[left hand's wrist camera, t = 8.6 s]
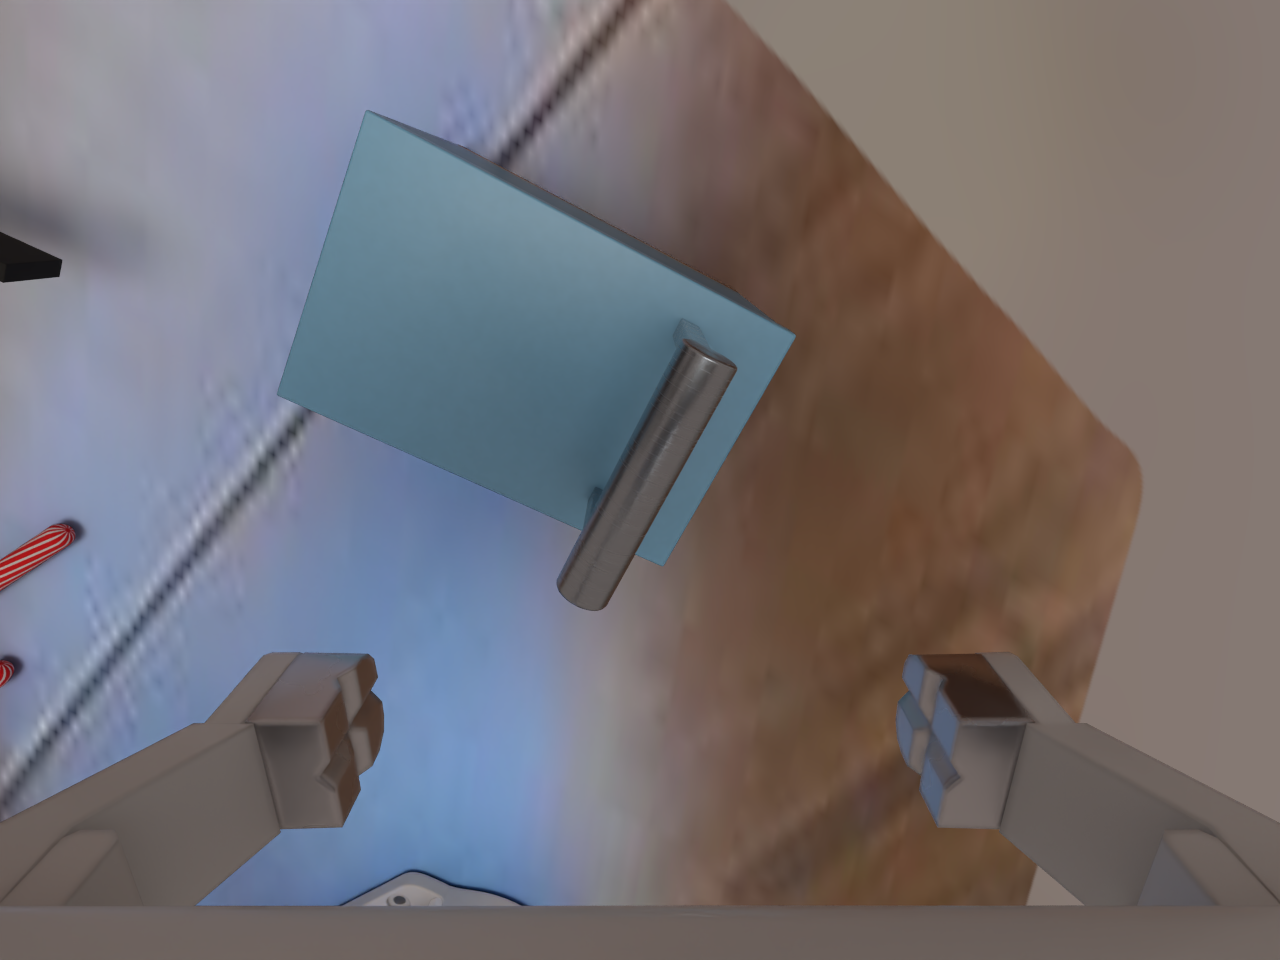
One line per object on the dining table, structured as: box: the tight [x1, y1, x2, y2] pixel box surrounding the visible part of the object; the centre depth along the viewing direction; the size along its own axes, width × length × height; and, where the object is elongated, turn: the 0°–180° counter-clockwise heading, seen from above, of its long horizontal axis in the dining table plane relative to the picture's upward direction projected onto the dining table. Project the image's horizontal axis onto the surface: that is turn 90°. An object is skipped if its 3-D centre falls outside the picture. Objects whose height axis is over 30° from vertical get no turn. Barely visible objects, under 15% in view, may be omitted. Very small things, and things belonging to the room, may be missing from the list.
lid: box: [277, 110, 796, 611], centre depth 21 cm, size 15×10×8 cm, turn 63°
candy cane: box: [0, 524, 75, 687], centre depth 40 cm, size 6×15×2 cm, turn 122°
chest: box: [384, 116, 773, 321], centre depth 30 cm, size 15×10×11 cm
